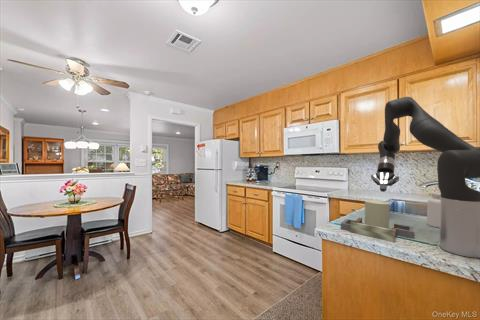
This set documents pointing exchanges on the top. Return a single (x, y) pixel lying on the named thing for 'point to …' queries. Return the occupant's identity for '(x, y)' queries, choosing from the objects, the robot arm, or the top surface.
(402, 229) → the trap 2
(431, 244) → the top surface
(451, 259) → the top surface
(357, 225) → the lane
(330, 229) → the top surface
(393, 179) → the robot arm
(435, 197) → the pill bottle
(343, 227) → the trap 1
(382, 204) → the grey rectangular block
